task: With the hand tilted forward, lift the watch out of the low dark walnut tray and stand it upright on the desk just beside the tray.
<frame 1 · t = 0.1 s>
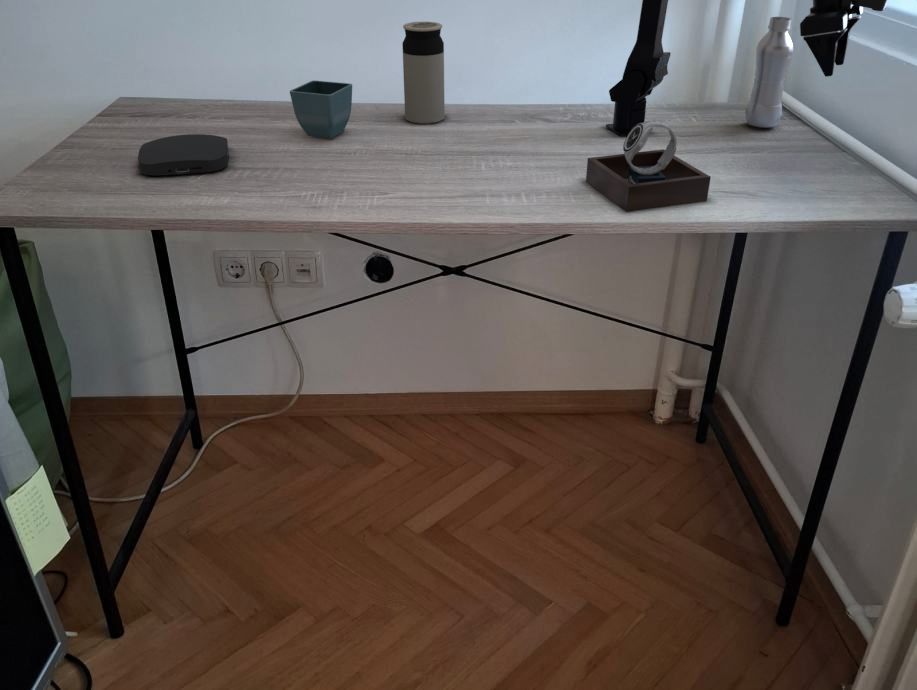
hand: (834, 70, 137), 15 cm above the table, tool pointing down, fingers open, 9 cm apart
travel mug: (424, 120, 167), on the table
media streaming box: (186, 163, 145), on the table
watch: (644, 192, 133), resting in tray
flower pot: (325, 135, 159), on the table
tray: (644, 191, 133), on the table
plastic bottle: (760, 127, 163), on the table
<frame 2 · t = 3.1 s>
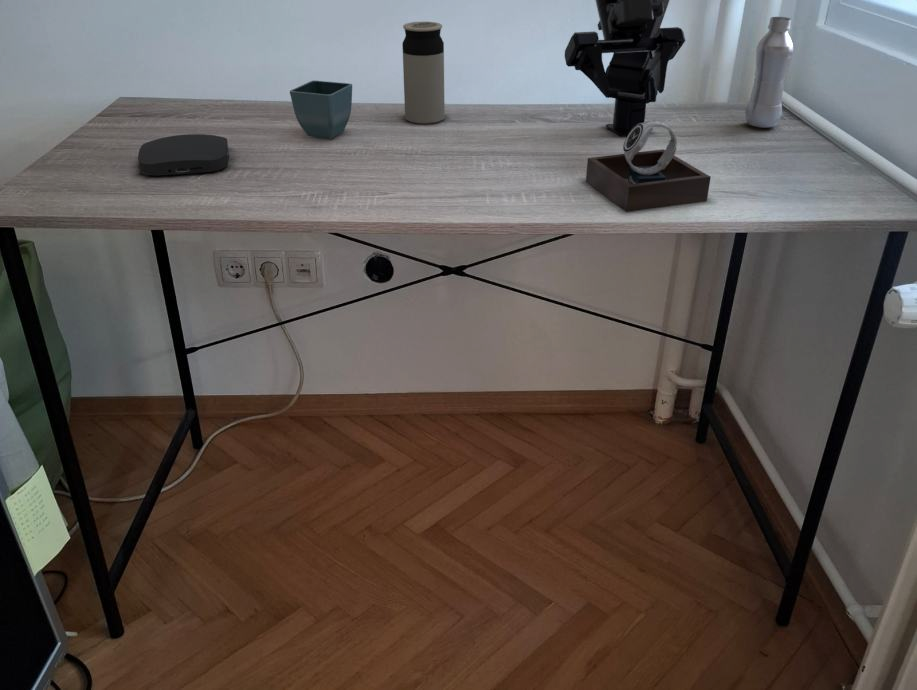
hand: (634, 93, 132), 13 cm above the table, tool tilted 45°, fingers open, 9 cm apart
nothing on the table moved.
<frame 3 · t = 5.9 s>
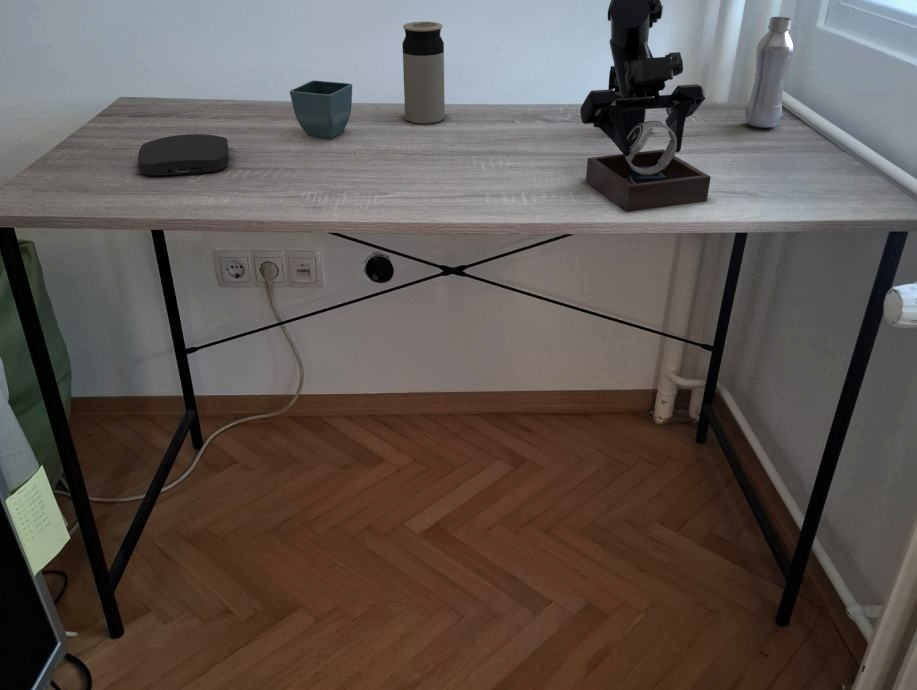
hand: (653, 153, 128), 7 cm above the table, tool tilted 45°, fingers closed on watch, 8 cm apart
watch: (644, 192, 133), resting in tray, touching gripper
everything else where it was.
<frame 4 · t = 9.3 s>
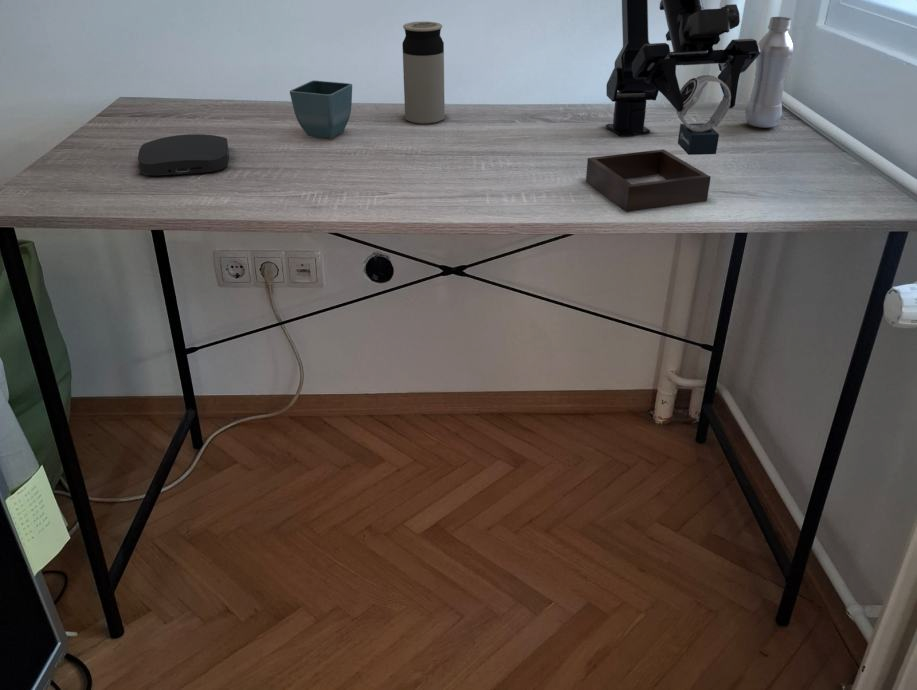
hand: (706, 108, 125), 13 cm above the table, tool tilted 45°, fingers closed on watch, 8 cm apart
watch: (695, 149, 130), point 6 cm above the table, touching gripper
everything else where it was.
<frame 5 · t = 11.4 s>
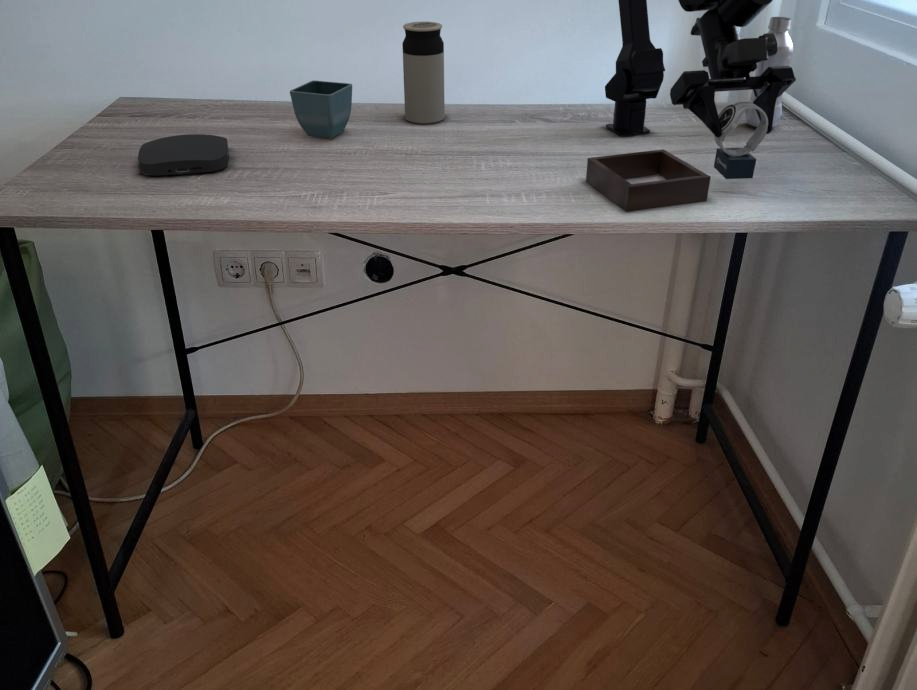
hand: (744, 134, 128), 9 cm above the table, tool tilted 45°, fingers closed on watch, 8 cm apart
watch: (732, 173, 133), point 2 cm above the table, touching gripper
everything else where it was.
when the fingers open (7 cm above the table, at t = 12.8 s): watch stays where it is, on the table.
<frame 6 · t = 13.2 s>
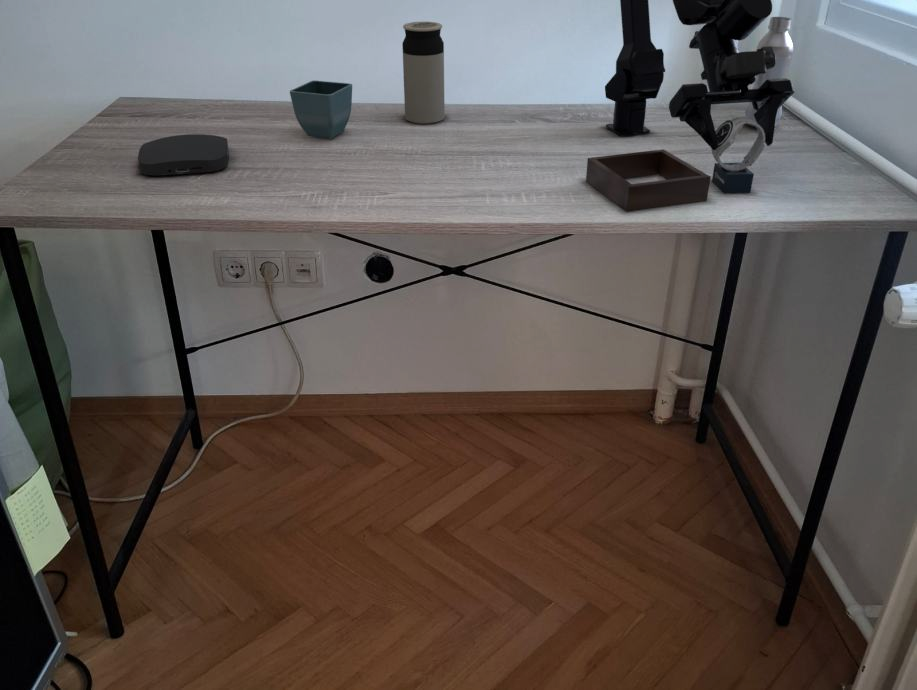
hand: (743, 146, 129), 7 cm above the table, tool tilted 45°, fingers open, 9 cm apart
watch: (729, 188, 134), on the table
everything else where it was.
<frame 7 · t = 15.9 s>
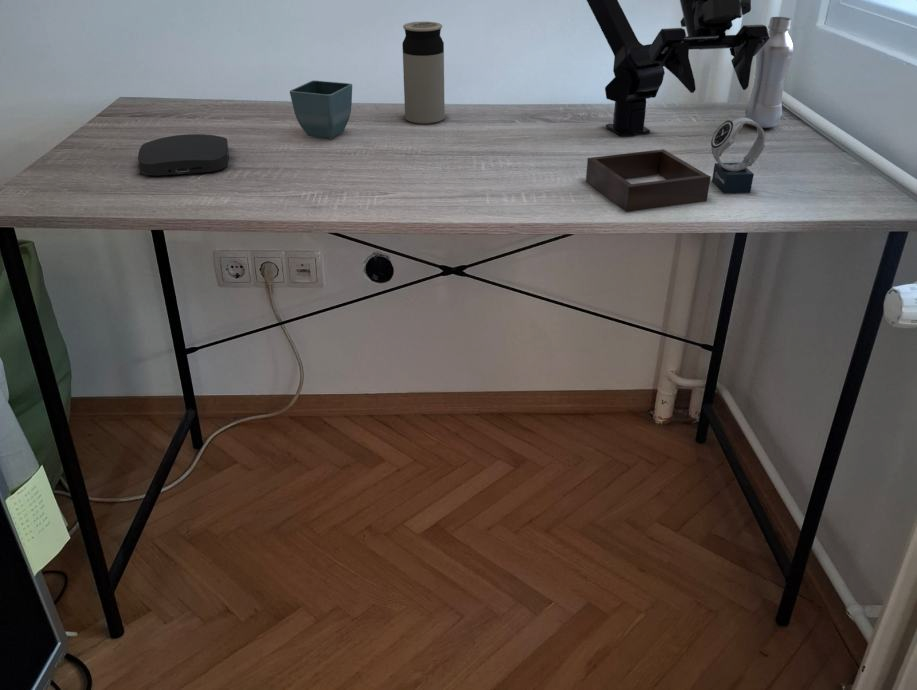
hand: (719, 90, 134), 14 cm above the table, tool tilted 45°, fingers open, 9 cm apart
nothing on the table moved.
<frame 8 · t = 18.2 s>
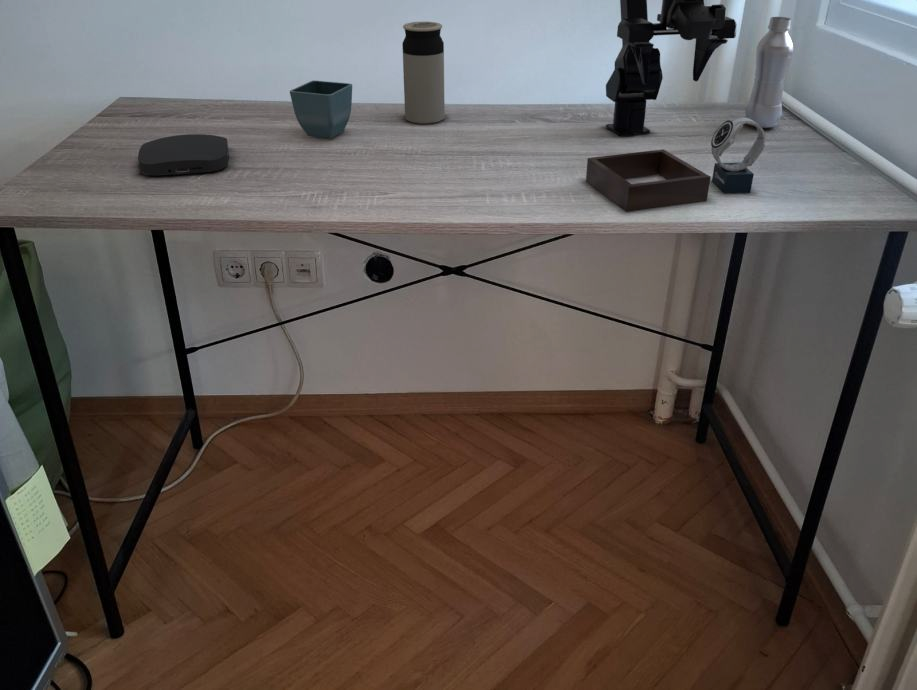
hand: (670, 82, 140), 13 cm above the table, tool pointing down, fingers open, 9 cm apart
nothing on the table moved.
at the end: watch inside the target area (0.1 cm from its centre), on the table; watch tilted 0°; the gripper is holding nothing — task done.
